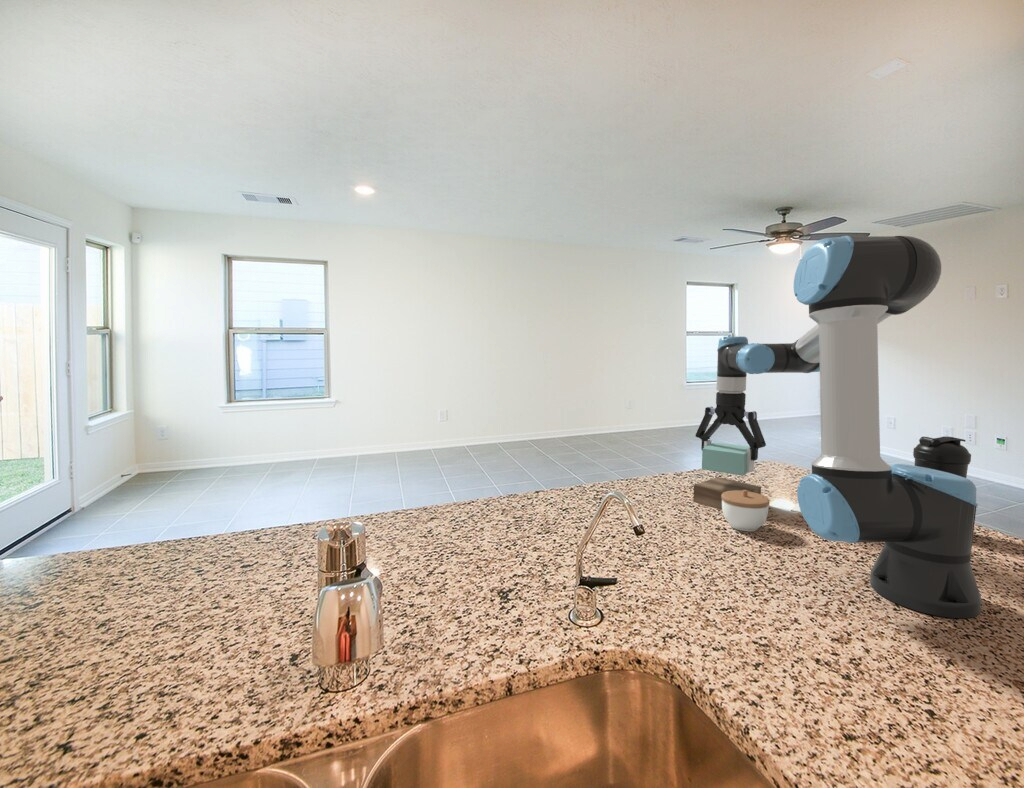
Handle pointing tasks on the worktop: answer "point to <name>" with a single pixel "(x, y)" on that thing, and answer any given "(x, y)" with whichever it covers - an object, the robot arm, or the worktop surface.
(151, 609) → the worktop surface
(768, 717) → the worktop surface
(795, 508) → the page
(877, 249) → the robot arm
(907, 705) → the worktop surface
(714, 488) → the walnut base
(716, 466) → the teal brick
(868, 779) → the worktop surface
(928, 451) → the water bottle
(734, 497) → the lidded jar
